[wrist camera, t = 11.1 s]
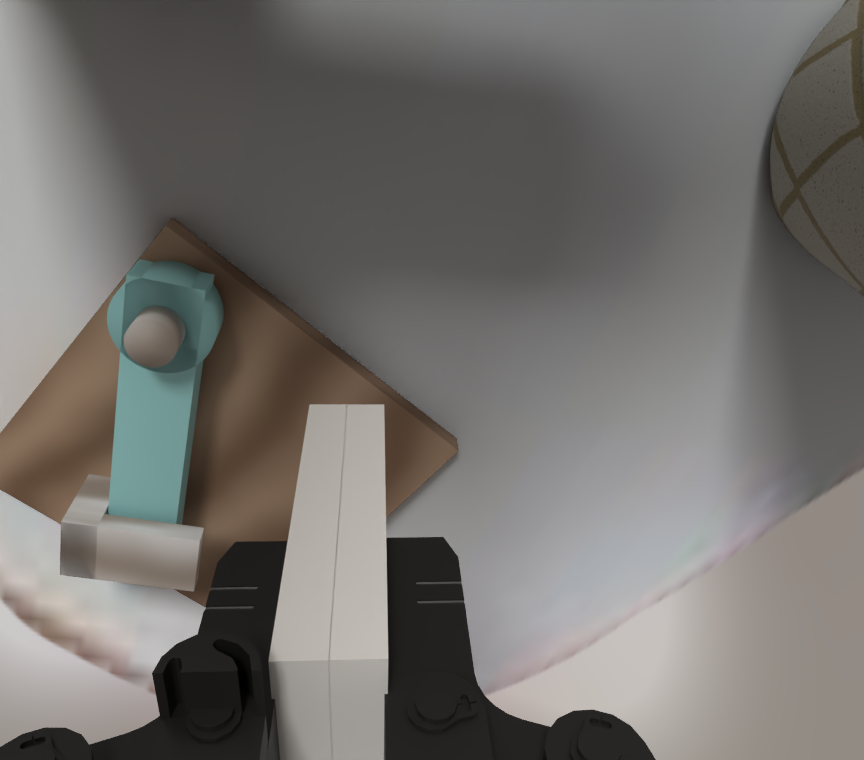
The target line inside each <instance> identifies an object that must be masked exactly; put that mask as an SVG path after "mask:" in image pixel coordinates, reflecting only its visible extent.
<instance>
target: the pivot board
mask: <svg viewBox="0 0 864 760" xmlns="http://www.w3.org/2000/svg"><path fill="white" fill-rule="evenodd" d="M139 259H142V260H147V261H151V262H156V261H176V262H181V263H184V264H187V265H189V266H192V267H194V268H195V269H197V270H199V271H200V272H204V273H209V274H214V282H213V284H214V285H215V287H216V288H217V290H218V292H219V294H220V296H221V299H222V303H223V308H224V318H223V323H222V326H221V329H220V331H219V333H218V336H217V338H216V340H215V342H214V345H213V347H212V349H211V351H210V352H209V354H208V355H207V356H206V358H205V359H204V360H203V367H202V374H201V382H200V390H199V398H198V405H197V413H196V421H195V428H194V436H193V444H192V451H191V459H190V467H189V475H188V482H187V490H186V498H185V505H184V513H183V521H182V525H180V524H173V523H166V522H159V521H151V520H144V519H137V518H130V517H123V516H115V515H108V506H109V493H110V480H111V467H112V454H113V440H114V427H115V414H116V401H117V388H118V375H119V361H120V351H119V349H118V348H117V347H116V345H115V344H114V342H113V340H112V338H111V336H110V333H109V330H108V325H107V312H108V307H109V304H110V302H111V300H112V298H113V296H114V295H115V293H116V292H117V291H118V290H119V289H120V287H121V286H122V285H123V284H124V283H125V281H126V276H125V277H124V278H123V279H122V281H121V282H120V283H119V284H118V286H117V287H116V288H115V289H114V291H113V292H112V293H111V295H110V296H109V297H108V298H107V300H106V301H105V302H104V303H103V305H102V306H101V307H100V308H99V310H98V311H97V312H96V313H95V315H94V316H93V317H92V318H91V320H90V321H89V322H88V323H87V325H86V326H85V327H84V329H83V330H82V331H81V332H80V334H79V335H78V336H77V337H76V339H75V340H74V341H73V342H72V344H71V345H70V346H69V347H68V349H67V350H66V351H65V352H64V354H63V355H62V356H61V358H60V359H59V360H58V361H57V363H56V364H55V365H54V366H53V368H52V369H51V370H50V371H49V373H48V374H47V375H46V376H45V378H44V379H43V380H42V381H41V383H40V384H39V385H38V387H37V388H36V389H35V390H34V392H33V393H32V394H31V395H30V397H29V398H28V399H27V400H26V402H25V403H24V404H23V405H22V407H21V408H20V409H19V410H18V412H17V413H16V414H15V416H14V417H13V418H12V419H11V421H10V422H9V423H8V424H7V426H6V427H5V428H4V429H3V431H2V432H1V433H0V490H2V491H4V492H6V493H7V494H9V495H11V496H13V497H14V498H16V499H18V500H20V501H21V502H23V503H25V504H27V505H28V506H30V507H32V508H34V509H35V510H37V511H39V512H40V513H42V514H44V515H46V516H47V517H49V518H51V519H53V520H54V521H56V522H58V523H60V524H61V550H60V575H66V576H73V577H81V578H89V579H97V580H105V581H113V582H121V583H129V584H137V585H145V586H153V587H161V588H169V589H175V590H176V591H178V592H180V593H181V594H183V595H185V596H187V597H188V598H190V599H192V600H194V601H195V602H197V603H199V604H201V605H202V606H204V607H206V602H207V599H208V595H209V591H211V584H212V580H213V577H214V573H215V570H216V566H217V562H218V561H219V560H220V559H221V558H222V557H223V555H224V554H225V553H226V552H227V551H228V550H229V549H230V547H231V546H232V545H233V544H234V543H235V542H246V541H288V536H289V530H290V523H291V517H292V511H293V505H294V498H295V492H296V486H297V480H298V473H299V467H300V461H301V455H302V448H303V442H304V436H305V430H306V423H307V417H308V411H309V405H310V404H384V421H385V484H386V517H387V516H389V515H390V514H391V513H392V512H393V511H394V510H395V509H396V508H397V507H398V506H399V505H400V504H401V503H403V502H404V501H405V500H406V499H407V498H408V497H409V496H410V495H411V494H412V493H413V492H414V491H416V490H417V489H418V488H419V487H420V486H421V485H422V484H423V483H424V482H425V481H426V480H427V479H429V478H430V477H431V476H432V475H433V474H434V473H435V472H436V471H437V470H438V469H439V468H440V467H441V466H443V465H444V464H445V463H446V462H447V461H448V460H449V459H450V458H451V457H452V456H453V455H454V454H456V453H457V452H458V445H457V439H456V438H455V437H454V436H453V435H451V434H450V433H449V432H447V431H446V430H445V429H444V428H442V427H441V426H440V425H438V424H437V423H436V422H435V421H433V420H432V419H431V418H429V417H428V416H427V415H426V414H424V413H423V412H422V411H420V410H419V409H418V408H417V407H415V406H414V405H413V404H411V403H410V402H409V401H407V400H406V399H405V398H404V397H402V396H401V395H400V394H398V393H397V392H396V391H395V390H393V389H392V388H391V387H389V386H388V385H387V384H386V383H384V382H383V381H382V380H380V379H379V378H378V377H377V376H375V375H374V374H373V373H371V372H370V371H369V370H368V369H366V368H365V367H364V366H362V365H361V364H360V363H359V362H357V361H356V360H355V359H353V358H352V357H351V356H350V355H348V354H347V353H346V352H344V351H343V350H342V349H341V348H339V347H338V346H337V345H335V344H334V343H333V342H332V341H330V340H329V339H328V338H326V337H325V336H324V335H323V334H321V333H320V332H319V331H317V330H316V329H315V328H314V327H312V326H311V325H310V324H308V323H307V322H306V321H304V320H303V319H302V318H301V317H299V316H298V315H297V314H295V313H294V312H293V311H292V310H290V309H289V308H288V307H286V306H285V305H284V304H283V303H281V302H280V301H279V300H277V299H276V298H275V297H274V296H272V295H271V294H270V293H268V292H267V291H266V290H265V289H263V288H262V287H261V286H259V285H258V284H257V283H256V282H254V281H253V280H252V279H250V278H249V277H248V276H247V275H245V274H244V273H243V272H241V271H240V270H239V269H238V268H236V267H235V266H234V265H232V264H231V263H230V262H229V261H227V260H226V259H225V258H223V257H222V256H221V255H220V254H218V253H217V252H216V251H214V250H213V249H212V248H211V247H209V246H208V245H207V244H205V243H204V242H203V241H201V240H200V239H199V238H198V237H196V236H195V235H194V234H192V233H191V232H190V231H189V230H187V229H186V228H185V227H183V226H182V225H181V224H180V223H178V222H177V221H176V220H174V219H173V218H171V219H170V221H169V222H168V223H167V224H166V225H165V226H164V228H163V229H162V230H161V231H160V233H159V234H158V235H157V237H156V238H155V239H154V240H153V242H152V243H151V244H150V245H149V247H148V248H147V249H146V250H145V252H144V253H143V254H142V255H141V257H140V258H139ZM139 259H138V260H139ZM138 260H137V261H138ZM135 264H136V263H135ZM135 264H134V265H135ZM130 270H131V269H130ZM185 333H186V329H185V325H184V322H183V320H182V318H181V317H180V316H179V315H178V314H177V313H176V312H175V311H173V310H172V309H170V308H167V307H164V306H150V307H147V308H145V309H143V310H142V311H141V312H140V313H139V314H138V315H137V317H136V318H135V320H134V321H133V322H132V324H131V325H130V327H129V328H128V329H127V331H126V333H125V335H124V347H125V349H126V352H127V353H128V355H129V356H130V357H131V358H132V359H133V360H134V361H135V362H137V363H139V364H141V365H143V366H146V367H161V366H164V365H166V364H168V363H169V362H170V361H171V360H172V359H173V358H174V356H175V355H176V353H177V351H178V349H179V347H180V345H181V343H182V342H183V340H184V337H185Z"/></svg>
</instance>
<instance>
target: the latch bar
mask: <svg viewBox="0 0 864 760" xmlns="http://www.w3.org/2000/svg"><path fill="white" fill-rule="evenodd" d="M213 282H214V274H209V273H204V272H200V271H199V270H197V269H195V268H194V267H192V266H189V265H187V264H184V263H181V262H176V261H156V262H151V261H147V260H142V259H139V260H138V261H137V262H136V264H135V265H134V266H133V267H132V268H131V270H130V271H129V272H128V273H127V274H126V281H125V283H124V284H123V285H122V286H121V287H120V289H119V290H118V291H117V292H116V293H115V295H114V296H113V298H112V300H111V302H110V304H109V307H108V312H107V325H108V330H109V333H110V336H111V338H112V340H113V342H114V344H115V345H116V347H117V348H118V349H119V351H120V361H119V375H118V388H117V401H116V414H115V427H114V440H113V454H112V467H111V480H110V493H109V506H108V515H115V516H123V517H130V518H137V519H144V520H151V521H159V522H166V523H173V524H180V525H182V521H183V513H184V505H185V498H186V490H187V482H188V475H189V467H190V459H191V451H192V444H193V436H194V428H195V421H196V413H197V405H198V398H199V390H200V382H201V374H202V367H203V360H204V359H205V358H206V356H207V355H208V354H209V352H210V351H211V349H212V347H213V345H214V342H215V340H216V338H217V336H218V333H219V331H220V329H221V326H222V323H223V318H224V308H223V303H222V299H221V296H220V294H219V292H218V290H217V288H216V287H215V285H214V284H213ZM150 306H164V307H167V308H170V309H172V310H173V311H175V312H176V313H177V314H178V315H179V316H180V317H181V318H182V320H183V322H184V325H185V329H186V333H185V337H184V340H183V342H182V343H181V345H180V347H179V349H178V351H177V353H176V355H175V356H174V358H173V359H172V360H171V361H170V362H169V363H168V364H166V365H164V366H161V367H146V366H143V365H141V364H139V363H137V362H135V361H134V360H133V359H132V358H131V357H130V356H129V355H128V353H127V352H126V349H125V347H124V335H125V333H126V331H127V329H128V328H129V327H130V325H131V324H132V322H133V321H134V320H135V318H136V317H137V315H138V314H139V313H140V312H141V311H142V310H143V309H145V308H147V307H150Z"/></svg>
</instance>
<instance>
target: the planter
mask: <svg viewBox="0 0 864 760" xmlns="http://www.w3.org/2000/svg"><path fill="white" fill-rule="evenodd" d="M770 173H771V185H772V201H773V205H774V207H775V210H776V212H777V214H778V216H779V217H780V219H781V221H782V222H783V224H784V225H785V227H786V228H787V229H788V231H789V232H790V233H791V234H792V235H793V236H794V238H795V239H796V240H797V241H798V242H799V243H800V244H801V245H802V246H803V247H804V248H805V249H806V250H807V251H808V252H809V253H810V254H811V255H812V256H813V257H815V258H816V259H817V260H819V261H820V262H821V263H822V264H824V265H825V266H826V267H828V268H829V269H830V270H831V271H833V272H834V273H835V274H837V275H838V276H839V277H840V278H842V279H843V280H844V281H845V282H847V283H848V284H849V285H851V286H852V287H853V288H854V289H856V290H857V291H858V292H859V293H861V294H862V295H863V296H864V0H846V2H845V3H844V5H843V6H842V8H841V9H840V10H839V11H838V12H837V14H836V15H835V16H834V17H833V18H832V19H831V20H830V22H829V23H828V24H827V25H826V26H825V27H824V29H823V30H822V31H821V32H820V34H819V35H818V36H817V37H816V39H815V40H814V41H813V43H812V44H811V46H810V47H809V48H808V50H807V51H806V53H805V54H804V56H803V57H802V59H801V61H800V62H799V64H798V66H797V67H796V69H795V71H794V73H793V75H792V77H791V79H790V81H789V83H788V85H787V87H786V89H785V92H784V95H783V97H782V100H781V102H780V105H779V109H778V112H777V115H776V119H775V123H774V127H773V133H772V139H771V149H770Z"/></svg>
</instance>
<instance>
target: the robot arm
mask: <svg viewBox="0 0 864 760" xmlns="http://www.w3.org/2000/svg"><path fill="white" fill-rule="evenodd" d="M152 675H153V680H154V685H155V691H156V696H157V702H158V707H159V712H160V716H159V717H158V718H157V719H155V720H153V721H152V722H150V723H148V724H147V725H145V726H143V727H141V728H139V729H136V730H134V731H131V732H129V733H126V734H123V735H120V736H117V737H113V738H110V739H107V740H103V741H100V742H97V743H94V744H90V745H89V744H88V743H87V741H86V740H85V739H84V737H83V736H82V735H81V734H79V733H76V732H74V731H72V730H69V729H67V728H42V729H39V730H35V731H32V732H28V733H25V734H22V735H20V736H18V737H17V738H15V739H13V740H12V741H10V742H8V743H6V744H5V745H3V746H1V747H0V760H655V758H654V756H653V755H652V753H651V752H650V750H649V748H648V747H647V745H646V743H645V742H644V741H643V740H642V738H641V737H640V736H639V735H638V734H637V733H636V732H635V730H634V729H633V728H632V727H631V726H630V725H628V724H626V723H625V722H623V721H622V720H620V719H618V718H617V717H615V716H614V715H611V714H607V713H603V712H599V711H595V710H581V711H572V712H570V713H568V714H566V715H564V716H562V717H560V718H558V719H557V720H556V721H555V723H554V724H553V725H552V727H548V726H544V725H541V724H537V723H533V722H529V721H526V720H522V719H520V718H517V717H514V716H512V715H509V714H507V713H505V712H504V711H502V710H501V709H499V708H498V707H496V706H495V705H493V704H492V703H491V702H490V701H489V700H488V699H487V698H486V697H485V696H484V694H483V692H482V691H481V689H480V687H479V686H478V684H477V681H476V677H475V674H474V668H473V661H472V653H471V646H470V639H469V632H468V625H467V618H466V610H465V604H464V596H463V589H462V585H461V575H460V567H459V560H458V556H457V555H456V554H455V552H454V551H453V550H452V548H451V547H450V546H449V544H448V543H447V542H446V540H445V539H444V538H443V537H421V538H386V484H385V421H384V404H310V405H309V411H308V417H307V423H306V430H305V436H304V442H303V448H302V455H301V461H300V467H299V473H298V480H297V486H296V492H295V498H294V505H293V511H292V517H291V523H290V530H289V536H288V541H246V542H235V543H234V544H233V545H232V546H231V547H230V549H229V550H228V551H227V552H226V553H225V554H224V555H223V557H222V558H221V559H220V560H219V561H218V562H217V566H216V570H215V573H214V577H213V580H212V584H211V591H209V595H208V599H207V602H206V609H205V611H204V613H203V617H202V621H201V624H200V628H199V631H198V635H195V636H193V637H191V638H189V639H186V640H184V641H182V642H180V643H178V644H176V645H175V646H174V647H173V648H172V649H170V650H169V651H168V652H167V653H166V654H165V655H163V656H162V657H161V659H160V661H159V662H158V664H157V666H156V668H155V669H154V671H153V673H152Z"/></svg>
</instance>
